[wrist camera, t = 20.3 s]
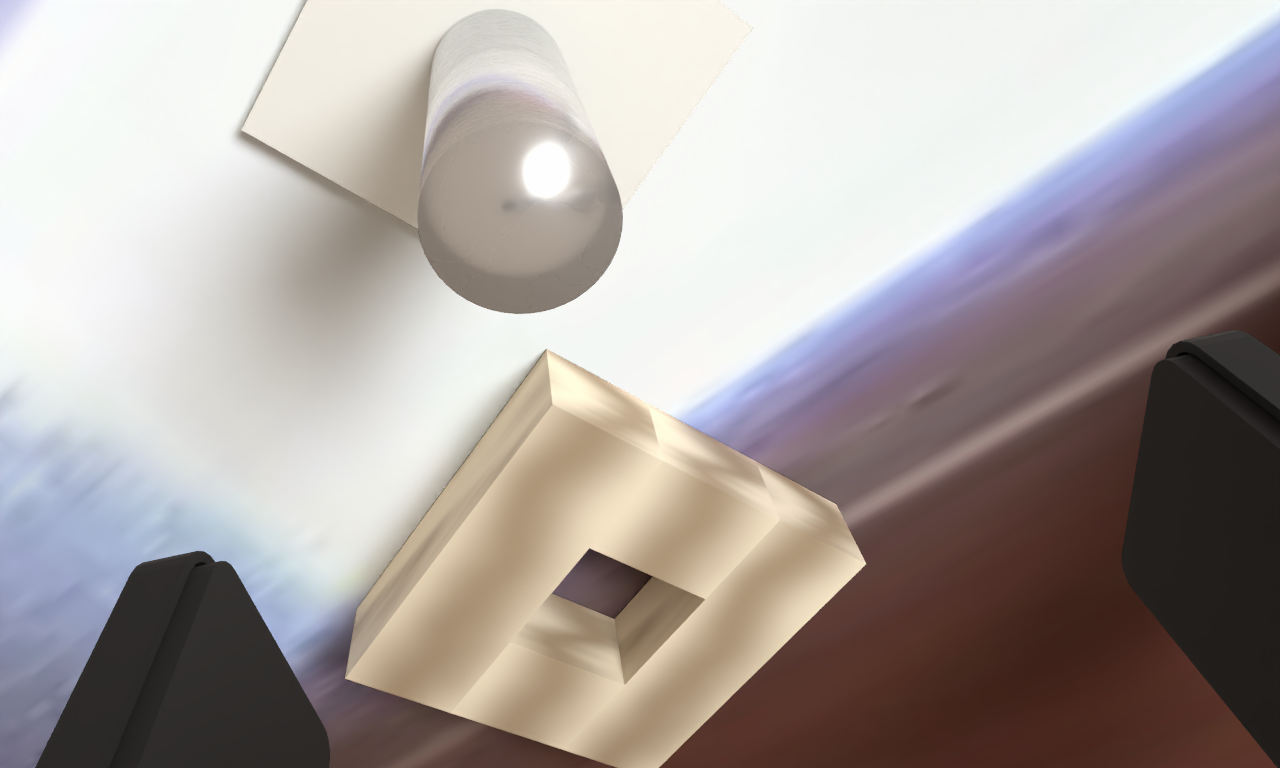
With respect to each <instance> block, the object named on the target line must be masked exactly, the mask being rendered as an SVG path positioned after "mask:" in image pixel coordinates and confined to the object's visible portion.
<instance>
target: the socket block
mask: <svg viewBox="0 0 1280 768" xmlns="http://www.w3.org/2000/svg"><path fill="white" fill-rule="evenodd" d="M589 548H590V549H592V550H595V551H597V552H599V553H602V554H604V555H606V556H608V557H611V558H613V559H615V560H617V561H620V562H622V563H624V564H626V565H629V566H631V567H633V568H636V569H638V570H640V571H642V572H645V573H647V574H649V575H651V576H653V577H652V578H651V579H650V580H649V581H648V582H647V583H646V584H645V586H644V587H643V588H642V589H641V590H640V591H639V592H638V593H637V595H636V596H635V597H634V598H633V599H632V600H631V601H630V602H629V603H628V605H627V606H626V607H625V608H624V609H623V610H622V611H621V612H620V613H619V615H618V616H617V617H616V618H615V619H613V618H610V617H608V616H605V615H603V614H601V613H598V612H596V611H593V610H591V609H588V608H586V607H583V606H581V605H578V604H576V603H574V602H571V601H569V600H566V599H564V598H561V597H559V596H556V595H554V594H552V592H553V591H554V590H555V588H556V587H557V586H558V585H559V584H560V583H561V581H562V580H563V579H564V578H565V577H566V575H567V574H568V573H569V572H570V571H571V569H572V568H573V567H574V566H575V565H576V564H577V562H578V561H579V560H580V559H581V558H582V556H583V555H584V554H585V553H586V552H587V551H588V549H589ZM865 565H866V563H865V561H864V559H863V557H862V555H861V553H860V551H859V549H858V547H857V545H856V543H855V541H854V539H853V537H852V535H851V533H850V531H849V529H848V527H847V525H846V523H845V521H844V519H843V517H842V515H841V513H840V511H839V509H838V507H837V505H836V504H834V503H832V502H831V501H829V500H827V499H825V498H823V497H821V496H819V495H818V494H816V493H814V492H812V491H810V490H808V489H806V488H805V487H803V486H801V485H799V484H797V483H795V482H793V481H791V480H790V479H788V478H786V477H784V476H782V475H780V474H778V473H777V472H775V471H773V470H771V469H769V468H767V467H765V466H763V465H762V464H760V463H758V462H756V461H754V460H752V459H750V458H749V457H747V456H745V455H743V454H741V453H739V452H737V451H736V450H734V449H732V448H730V447H728V446H726V445H724V444H722V443H721V442H719V441H717V440H715V439H713V438H711V437H709V436H708V435H706V434H704V433H702V432H700V431H698V430H696V429H694V428H693V427H691V426H689V425H687V424H685V423H683V422H681V421H680V420H678V419H676V418H674V417H672V416H670V415H668V414H667V413H665V412H663V411H661V410H659V409H657V408H655V407H653V406H652V405H650V404H648V403H646V402H644V401H642V400H640V399H639V398H637V397H635V396H633V395H631V394H629V393H627V392H625V391H624V390H622V389H620V388H618V387H616V386H614V385H612V384H611V383H609V382H607V381H605V380H603V379H601V378H599V377H598V376H596V375H594V374H592V373H590V372H588V371H586V370H584V369H583V368H581V367H579V366H577V365H575V364H573V363H571V362H570V361H568V360H566V359H564V358H562V357H560V356H558V355H556V354H555V353H553V352H551V351H549V350H547V349H546V351H545V352H544V353H543V355H542V356H541V358H540V359H539V360H538V362H537V363H536V364H535V366H534V367H533V368H532V370H531V371H530V373H529V374H528V375H527V377H526V378H525V379H524V381H523V382H522V384H521V385H520V386H519V388H518V389H517V390H516V392H515V393H514V394H513V396H512V397H511V399H510V400H509V401H508V403H507V404H506V405H505V407H504V408H503V410H502V411H501V412H500V414H499V415H498V416H497V418H496V419H495V420H494V422H493V423H492V425H491V426H490V427H489V429H488V430H487V431H486V433H485V434H484V436H483V437H482V438H481V440H480V441H479V442H478V444H477V445H476V446H475V448H474V449H473V451H472V452H471V453H470V455H469V456H468V457H467V459H466V460H465V462H464V463H463V464H462V466H461V467H460V468H459V470H458V471H457V472H456V474H455V475H454V477H453V478H452V479H451V481H450V482H449V483H448V485H447V486H446V488H445V489H444V490H443V492H442V493H441V494H440V496H439V497H438V498H437V500H436V501H435V503H434V504H433V505H432V507H431V508H430V509H429V511H428V512H427V514H426V515H425V516H424V518H423V519H422V520H421V522H420V523H419V524H418V526H417V527H416V529H415V530H414V531H413V533H412V534H411V535H410V537H409V538H408V540H407V541H406V542H405V544H404V545H403V546H402V548H401V549H400V550H399V552H398V553H397V555H396V556H395V557H394V559H393V560H392V561H391V563H390V564H389V566H388V567H387V568H386V570H385V571H384V572H383V574H382V575H381V576H380V578H379V579H378V581H377V582H376V583H375V585H374V586H373V587H372V589H371V590H370V592H369V593H368V594H367V596H366V597H365V598H364V600H363V601H362V602H361V604H360V605H359V607H358V608H357V610H356V616H355V622H354V628H353V634H352V640H351V646H350V652H349V658H348V664H347V670H346V676H345V679H348V680H351V681H354V682H357V683H360V684H363V685H366V686H369V687H372V688H375V689H378V690H382V691H385V692H388V693H391V694H394V695H397V696H400V697H403V698H406V699H409V700H412V701H415V702H418V703H421V704H424V705H427V706H431V707H434V708H437V709H440V710H443V711H446V712H449V713H452V714H455V715H458V716H461V717H464V718H467V719H470V720H473V721H476V722H479V723H483V724H486V725H489V726H492V727H495V728H498V729H501V730H504V731H507V732H510V733H513V734H516V735H519V736H522V737H525V738H528V739H532V740H535V741H538V742H541V743H544V744H547V745H550V746H553V747H556V748H559V749H562V750H565V751H568V752H571V753H574V754H577V755H581V756H584V757H587V758H590V759H593V760H596V761H599V762H602V763H605V764H608V765H611V766H614V767H617V768H659V767H660V766H661V765H662V764H663V763H664V762H665V761H666V760H667V759H668V758H669V757H670V756H671V755H672V754H673V753H674V752H675V751H676V750H677V749H678V748H679V747H680V746H681V745H682V744H683V743H684V742H685V741H686V740H687V739H688V738H689V737H690V736H691V735H692V734H693V733H695V732H696V731H697V730H698V729H699V728H700V727H701V726H702V725H703V724H704V723H705V722H706V721H707V720H708V719H709V718H710V717H711V716H712V715H713V714H714V713H715V712H716V711H717V710H718V709H719V708H720V707H721V706H722V705H723V704H724V703H725V702H726V701H727V700H728V699H729V698H730V697H731V696H732V695H733V694H734V693H735V692H736V691H737V690H738V689H739V688H740V687H741V686H742V685H743V684H744V683H745V682H746V681H747V680H748V679H750V678H751V677H752V676H753V675H754V674H755V673H756V672H757V671H758V670H759V669H760V668H761V667H762V666H763V665H764V664H765V663H766V662H767V661H768V660H769V659H770V658H771V657H772V656H773V655H774V654H775V653H776V652H777V651H778V650H779V649H780V648H781V647H782V646H783V645H784V644H785V643H786V642H787V641H788V640H789V639H790V638H791V637H792V636H793V635H794V634H795V633H796V632H797V631H798V630H799V629H800V628H801V627H802V626H803V625H805V624H806V623H807V622H808V621H809V620H810V619H811V618H812V617H813V616H814V615H815V614H816V613H817V612H818V611H819V610H820V609H821V608H822V607H823V606H824V605H825V604H826V603H827V602H828V601H829V600H830V599H831V598H832V597H833V596H834V595H835V594H836V593H837V592H838V591H839V590H840V589H841V588H842V587H843V586H844V585H845V584H846V583H847V582H848V581H849V580H850V579H851V578H852V577H853V576H854V575H855V574H856V573H857V572H858V571H860V570H861V569H862V568H863V567H864V566H865Z"/></svg>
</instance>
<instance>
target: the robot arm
mask: <svg viewBox="0 0 1280 768" xmlns="http://www.w3.org/2000/svg"><path fill="white" fill-rule="evenodd" d="M1122 564H1123V569H1124V572H1125V575H1126V578H1127V580H1128V582H1129V584H1130V586H1131V587H1132V589H1133V590H1134V592H1135V593H1136V594H1137V595H1138V596H1139V598H1140V599H1141V600H1142V601H1143V603H1144V604H1145V605H1146V606H1147V608H1148V609H1149V610H1150V611H1151V612H1152V614H1153V615H1154V616H1155V617H1156V619H1157V620H1158V621H1159V622H1160V624H1161V625H1162V626H1163V627H1164V628H1165V630H1166V631H1167V632H1168V633H1169V635H1170V636H1171V637H1172V638H1173V640H1174V641H1175V642H1176V643H1177V644H1178V646H1179V647H1180V648H1181V649H1182V651H1183V652H1184V653H1185V654H1186V656H1187V657H1188V658H1189V659H1190V660H1191V662H1192V663H1193V664H1194V665H1195V667H1196V668H1197V669H1198V670H1199V672H1200V673H1201V674H1202V675H1203V676H1204V678H1205V679H1206V680H1207V681H1208V683H1209V684H1210V685H1211V686H1212V688H1213V689H1214V690H1215V691H1216V692H1217V694H1218V695H1219V696H1220V697H1221V699H1222V700H1223V701H1224V702H1225V704H1226V705H1227V706H1228V707H1229V709H1230V710H1231V711H1232V712H1233V713H1234V715H1235V716H1236V717H1237V718H1238V720H1239V721H1240V722H1241V723H1242V725H1243V726H1244V727H1245V728H1246V729H1247V731H1248V732H1249V733H1250V734H1251V736H1252V737H1253V738H1254V739H1255V741H1256V742H1257V743H1258V744H1259V745H1260V747H1261V748H1262V749H1263V750H1264V752H1265V753H1266V754H1267V755H1268V757H1269V758H1270V759H1271V760H1272V761H1273V763H1274V764H1275V765H1276V766H1277V768H1280V355H1279V354H1277V353H1276V352H1274V351H1273V350H1272V349H1270V348H1269V347H1267V346H1266V345H1264V344H1263V343H1262V342H1260V341H1259V340H1257V339H1256V338H1254V337H1253V336H1251V335H1250V334H1247V333H1245V332H1243V331H1238V330H1231V331H1226V332H1221V333H1217V334H1212V335H1207V336H1203V337H1198V338H1193V339H1189V340H1184V341H1180V342H1178V343H1176V344H1173V345H1172V347H1171V348H1170V349H1169V350H1168V352H1167V355H1166V358H1165V360H1162V361H1159V362H1158V363H1157V364H1156V365H1155V367H1154V369H1153V372H1152V376H1151V382H1150V388H1149V394H1148V400H1147V406H1146V412H1145V418H1144V424H1143V430H1142V436H1141V442H1140V448H1139V454H1138V460H1137V466H1136V472H1135V478H1134V484H1133V490H1132V496H1131V502H1130V508H1129V514H1128V520H1127V526H1126V532H1125V538H1124V544H1123V550H1122ZM329 762H330V748H329V740H328V736H327V732H326V730H325V728H324V726H323V724H322V722H321V720H320V719H319V717H318V715H317V713H316V712H315V710H314V708H313V706H312V705H311V703H310V701H309V699H308V698H307V696H306V694H305V692H304V691H303V689H302V687H301V685H300V684H299V682H298V680H297V678H296V676H295V675H294V673H293V671H292V669H291V668H290V666H289V664H288V662H287V661H286V659H285V657H284V655H283V654H282V652H281V650H280V648H279V647H278V645H277V643H276V641H275V640H274V638H273V636H272V634H271V633H270V631H269V629H268V627H267V626H266V624H265V622H264V620H263V619H262V617H261V615H260V613H259V612H258V610H257V608H256V606H255V605H254V603H253V601H252V599H251V598H250V596H249V594H248V592H247V591H246V589H245V587H244V585H243V583H242V582H241V580H240V578H239V576H238V575H237V573H236V571H235V570H234V568H233V567H232V566H231V564H229V563H228V562H226V561H219V562H215V561H214V560H213V559H212V557H211V556H210V555H208V554H207V553H205V552H203V551H195V552H191V553H186V554H181V555H176V556H172V557H167V558H162V559H158V560H153V561H148V562H144V563H142V564H140V565H138V566H136V567H135V569H134V570H133V572H132V573H131V574H130V576H129V578H128V580H127V582H126V585H125V587H124V589H123V591H122V593H121V595H120V597H119V599H118V601H117V603H116V605H115V607H114V609H113V611H112V613H111V615H110V617H109V619H108V621H107V623H106V625H105V627H104V629H103V631H102V633H101V635H100V637H99V639H98V641H97V643H96V645H95V647H94V649H93V652H92V654H91V656H90V658H89V660H88V662H87V664H86V666H85V668H84V670H83V672H82V674H81V676H80V678H79V680H78V682H77V684H76V686H75V688H74V690H73V692H72V694H71V696H70V698H69V700H68V702H67V704H66V706H65V708H64V710H63V712H62V714H61V717H60V719H59V721H58V723H57V725H56V727H55V729H54V731H53V733H52V735H51V737H50V739H49V741H48V743H47V745H46V747H45V749H44V751H43V753H42V755H41V757H40V759H39V761H38V763H37V765H36V767H35V768H329Z"/></svg>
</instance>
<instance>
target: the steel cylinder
mask: <svg viewBox="0 0 1280 768" xmlns="http://www.w3.org/2000/svg"><path fill="white" fill-rule="evenodd" d="M417 220H418V232H419V236H420V241H421V244H422V247H423V250H424V253H425V255H426V257H427V259H428V261H429V263H430V265H431V266H432V268H433V269H434V270H435V272H436V273H437V275H438V276H439V277H440V278H441V279H442V280H443V281H444V282H445V284H446V285H447V286H449V287H450V288H451V289H452V290H453V291H455V292H456V293H457V294H459V295H460V296H462V297H463V298H465V299H466V300H468V301H470V302H472V303H474V304H476V305H479V306H481V307H484V308H487V309H490V310H494V311H499V312H504V313H514V314H525V313H536V312H542V311H546V310H550V309H554V308H556V307H559V306H561V305H564V304H566V303H568V302H570V301H572V300H574V299H576V298H577V297H579V296H580V295H582V294H583V293H584V292H586V291H587V290H588V289H589V288H590V287H592V286H593V285H594V284H595V283H596V282H597V281H598V280H599V278H600V277H601V276H602V275H603V274H604V272H605V271H606V269H607V268H608V266H609V265H610V263H611V261H612V259H613V257H614V255H615V253H616V250H617V248H618V245H619V242H620V237H621V232H622V221H623V214H622V203H621V199H620V194H619V191H618V188H617V186H616V183H615V180H614V178H613V175H612V173H611V171H610V168H609V166H608V163H607V161H606V159H605V156H604V154H603V151H602V149H601V146H600V144H599V142H598V139H597V137H596V134H595V132H594V130H593V127H592V125H591V122H590V120H589V117H588V115H587V113H586V110H585V108H584V105H583V103H582V101H581V98H580V96H579V93H578V91H577V88H576V86H575V84H574V81H573V79H572V76H571V74H570V72H569V69H568V67H567V64H566V62H565V59H564V57H563V55H562V52H561V50H560V48H559V46H558V45H557V43H556V41H555V40H554V39H553V37H552V36H551V35H550V34H549V33H548V31H547V30H546V29H545V28H543V27H542V26H541V25H540V24H539V23H537V22H536V21H534V20H533V19H531V18H529V17H527V16H525V15H523V14H521V13H517V12H514V11H510V10H504V9H490V10H483V11H479V12H475V13H473V14H471V15H468V16H466V17H464V18H463V19H461V20H459V21H458V22H457V23H456V24H454V25H453V26H452V27H451V28H450V29H449V30H448V31H447V32H446V33H445V35H444V36H443V38H442V39H441V41H440V42H439V44H438V46H437V48H436V51H435V54H434V57H433V61H432V66H431V77H430V87H429V98H428V108H427V119H426V129H425V140H424V150H423V161H422V171H421V181H420V192H419V202H418V215H417Z"/></svg>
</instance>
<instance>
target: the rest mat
mask: <svg viewBox="0 0 1280 768" xmlns="http://www.w3.org/2000/svg"><path fill="white" fill-rule="evenodd" d="M490 9H504V10H510V11H514V12H517V13H521V14H523V15H525V16H527V17H529V18H531V19H533V20H534V21H536V22H537V23H539V24H540V25H541V26H542V27H543V28H545V29H546V30H547V31H548V33H549V34H550V35H551V36H552V37H553V39H554V40H555V41H556V43H557V45H558V46H559V48H560V50H561V52H562V55H563V57H564V59H565V62H566V64H567V67H568V69H569V72H570V74H571V76H572V79H573V81H574V84H575V86H576V88H577V91H578V93H579V96H580V98H581V101H582V103H583V105H584V108H585V110H586V113H587V115H588V117H589V120H590V122H591V125H592V127H593V130H594V132H595V134H596V137H597V139H598V142H599V144H600V146H601V149H602V151H603V154H604V156H605V159H606V161H607V163H608V166H609V168H610V171H611V173H612V175H613V178H614V180H615V183H616V186H617V188H618V191H619V194H620V199H621V203H622V210H623V209H624V207H625V206H626V204H627V203H628V202H629V200H630V199H631V197H632V196H633V195H634V193H635V192H636V191H637V189H638V188H639V186H640V185H641V184H642V182H643V181H644V179H645V178H646V177H647V175H648V174H649V172H650V171H651V170H652V168H653V167H654V165H655V164H656V163H657V161H658V160H659V158H660V157H661V156H662V154H663V153H664V152H665V150H666V149H667V147H668V146H669V145H670V143H671V142H672V140H673V139H674V138H675V136H676V135H677V133H678V132H679V131H680V129H681V128H682V126H683V125H684V124H685V122H686V121H687V119H688V118H689V117H690V115H691V114H692V113H693V111H694V110H695V108H696V107H697V106H698V104H699V103H700V101H701V100H702V99H703V97H704V96H705V94H706V93H707V92H708V90H709V89H710V87H711V86H712V85H713V83H714V82H715V80H716V79H717V78H718V76H719V75H720V74H721V72H722V71H723V69H724V68H725V67H726V65H727V64H728V62H729V61H730V60H731V58H732V57H733V55H734V54H735V53H736V51H737V50H738V48H739V47H740V46H741V44H742V43H743V41H744V40H745V39H746V37H747V36H748V35H749V33H750V32H751V30H752V29H753V27H752V26H750V25H749V24H748V23H747V22H745V21H744V20H743V19H742V18H740V17H739V16H738V15H736V14H735V13H734V12H733V11H731V10H730V9H729V8H728V7H726V6H725V5H724V4H723V3H721V2H720V1H719V0H307V2H306V4H305V6H304V8H303V10H302V12H301V14H300V16H299V18H298V20H297V22H296V24H295V25H294V27H293V29H292V31H291V33H290V35H289V37H288V39H287V41H286V43H285V45H284V47H283V49H282V51H281V53H280V55H279V57H278V59H277V61H276V63H275V65H274V67H273V69H272V71H271V73H270V75H269V77H268V79H267V81H266V83H265V85H264V86H263V88H262V90H261V92H260V94H259V96H258V98H257V100H256V102H255V104H254V106H253V108H252V110H251V112H250V114H249V116H248V118H247V120H246V122H245V124H244V126H243V128H242V131H244V132H246V133H247V134H249V135H251V136H253V137H255V138H256V139H258V140H260V141H262V142H264V143H265V144H267V145H269V146H271V147H272V148H274V149H276V150H278V151H280V152H281V153H283V154H285V155H287V156H288V157H290V158H292V159H294V160H296V161H297V162H299V163H301V164H303V165H304V166H306V167H308V168H310V169H312V170H313V171H315V172H317V173H319V174H320V175H322V176H324V177H326V178H328V179H329V180H331V181H333V182H335V183H337V184H338V185H340V186H342V187H344V188H345V189H347V190H349V191H351V192H353V193H354V194H356V195H358V196H360V197H361V198H363V199H365V200H367V201H369V202H370V203H372V204H374V205H376V206H377V207H379V208H381V209H383V210H385V211H386V212H388V213H390V214H392V215H394V216H395V217H397V218H399V219H401V220H402V221H404V222H406V223H408V224H410V225H411V226H413V227H415V228H417V229H418V220H417V215H418V202H419V192H420V181H421V171H422V161H423V150H424V140H425V129H426V119H427V108H428V98H429V87H430V77H431V66H432V61H433V57H434V54H435V51H436V48H437V46H438V44H439V42H440V41H441V39H442V38H443V36H444V35H445V33H446V32H447V31H448V30H449V29H450V28H451V27H452V26H453V25H454V24H456V23H457V22H458V21H459V20H461V19H463V18H464V17H466V16H468V15H471V14H473V13H475V12H479V11H483V10H490Z"/></svg>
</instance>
